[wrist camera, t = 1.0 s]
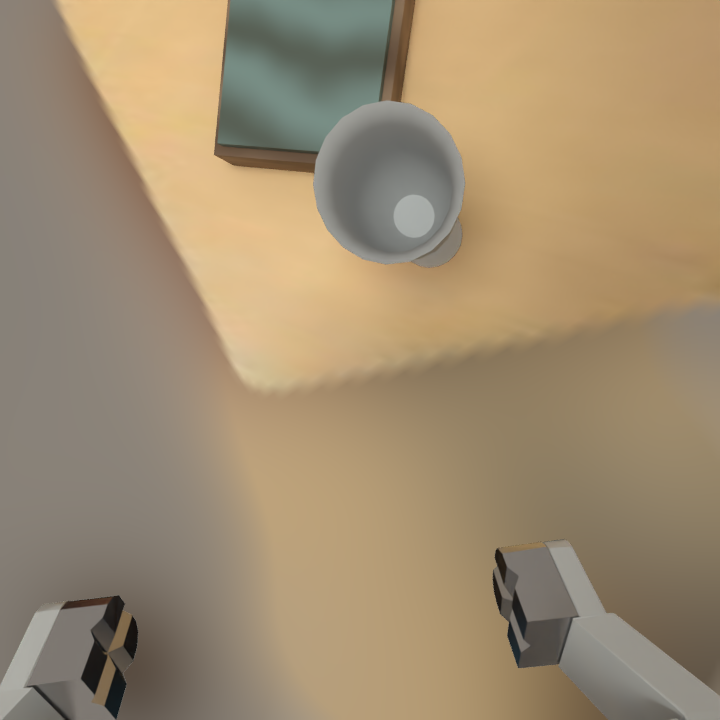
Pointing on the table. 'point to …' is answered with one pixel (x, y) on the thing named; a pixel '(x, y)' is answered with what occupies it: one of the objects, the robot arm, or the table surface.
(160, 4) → the table surface
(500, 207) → the table surface
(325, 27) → the plinth
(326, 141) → the chalice
